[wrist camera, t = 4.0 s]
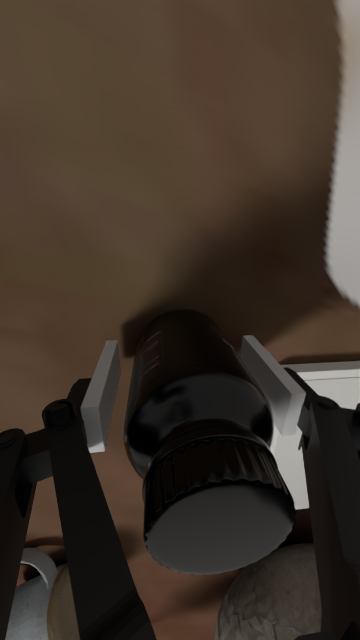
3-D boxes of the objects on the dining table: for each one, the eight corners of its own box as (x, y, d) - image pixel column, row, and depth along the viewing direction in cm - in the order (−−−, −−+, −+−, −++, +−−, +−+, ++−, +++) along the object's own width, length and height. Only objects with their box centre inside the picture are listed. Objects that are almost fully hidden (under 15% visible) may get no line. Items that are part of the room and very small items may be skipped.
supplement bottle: (239, 325, 18) (378, 482, 7) (200, 393, 20) (260, 600, 9) (155, 291, 16) (165, 428, 5) (122, 370, 18) (78, 588, 7)
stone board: (274, 365, 20) (282, 373, 19) (421, 357, 21) (437, 365, 20) (248, 502, 27) (252, 515, 25) (361, 489, 28) (370, 501, 27)
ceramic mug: (109, 570, 28) (94, 685, 21) (55, 598, 29) (23, 716, 22) (45, 530, 25) (1, 652, 18) (-15, 562, 26) (-80, 691, 18)
